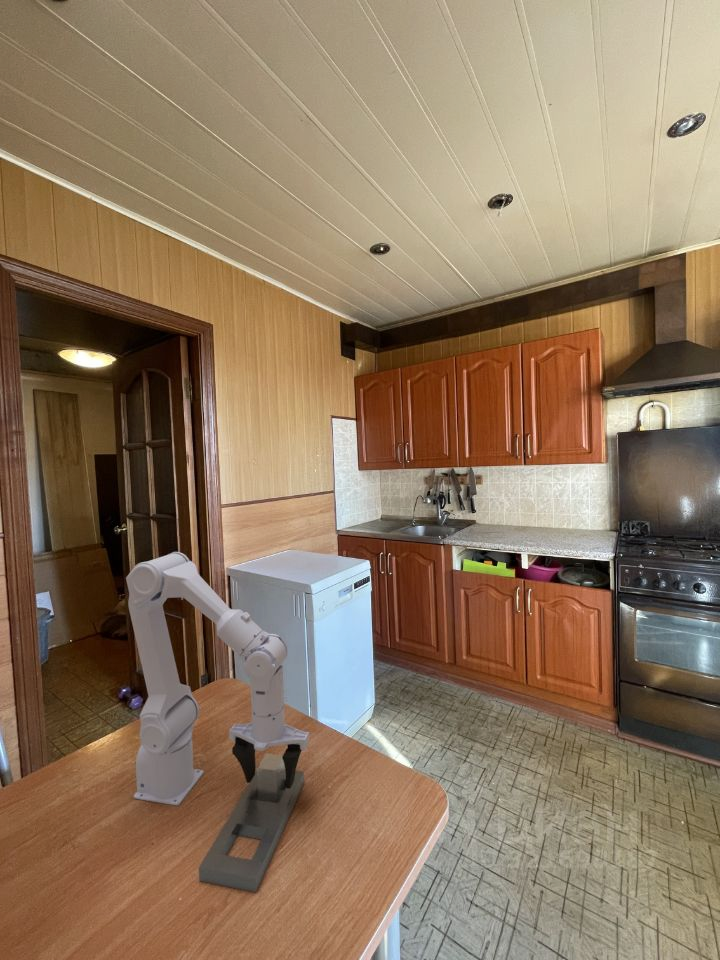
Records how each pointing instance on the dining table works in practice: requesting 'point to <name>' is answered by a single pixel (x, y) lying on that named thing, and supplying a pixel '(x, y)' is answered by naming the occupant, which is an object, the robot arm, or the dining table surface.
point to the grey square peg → (271, 778)
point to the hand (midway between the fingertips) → (270, 781)
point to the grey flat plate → (252, 823)
